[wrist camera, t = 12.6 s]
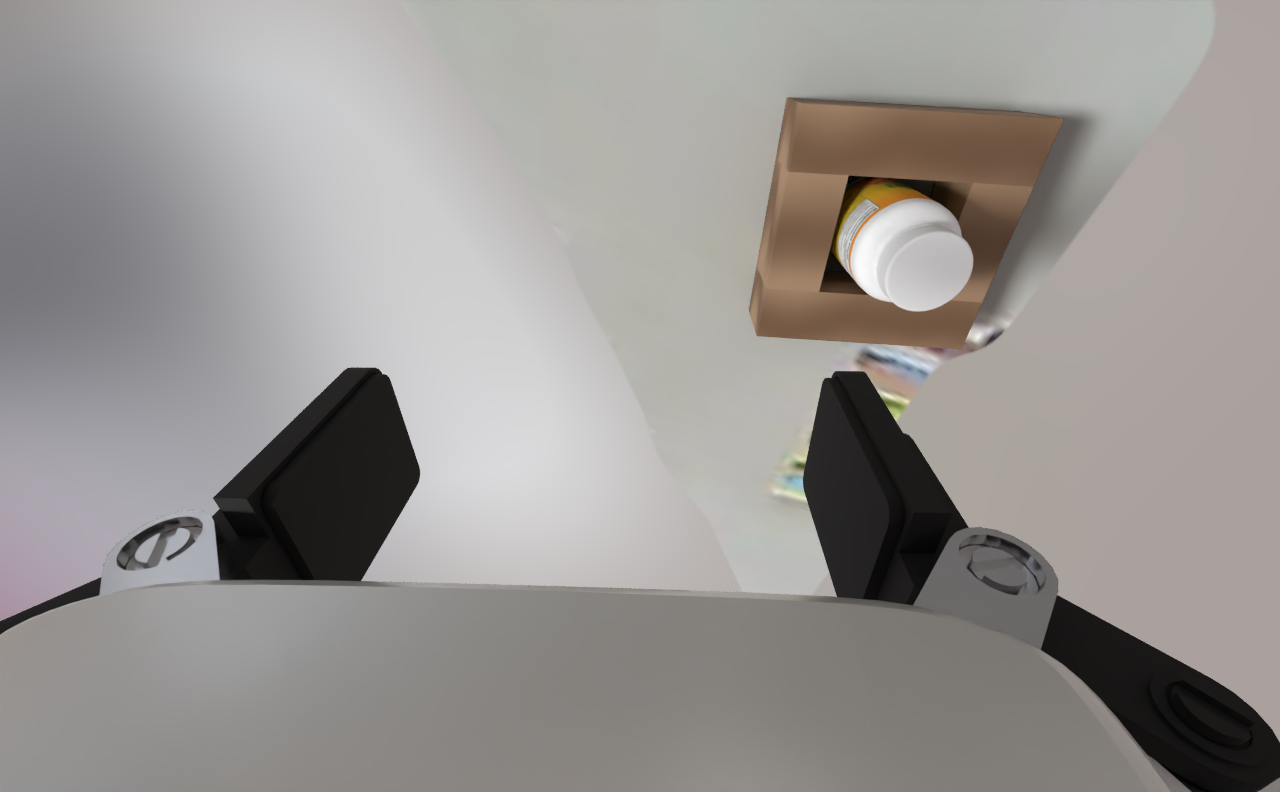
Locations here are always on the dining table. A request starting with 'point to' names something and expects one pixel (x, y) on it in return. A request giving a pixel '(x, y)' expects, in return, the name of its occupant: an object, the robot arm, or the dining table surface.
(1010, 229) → the socket block
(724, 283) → the dining table surface
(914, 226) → the supplement bottle
